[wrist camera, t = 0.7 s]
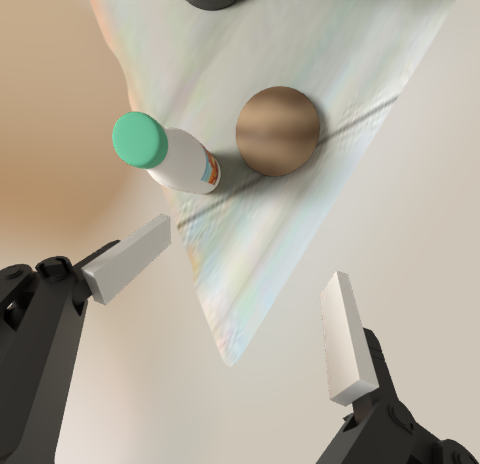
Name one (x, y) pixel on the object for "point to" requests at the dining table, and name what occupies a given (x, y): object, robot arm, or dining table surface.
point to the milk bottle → (166, 154)
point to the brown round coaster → (277, 131)
